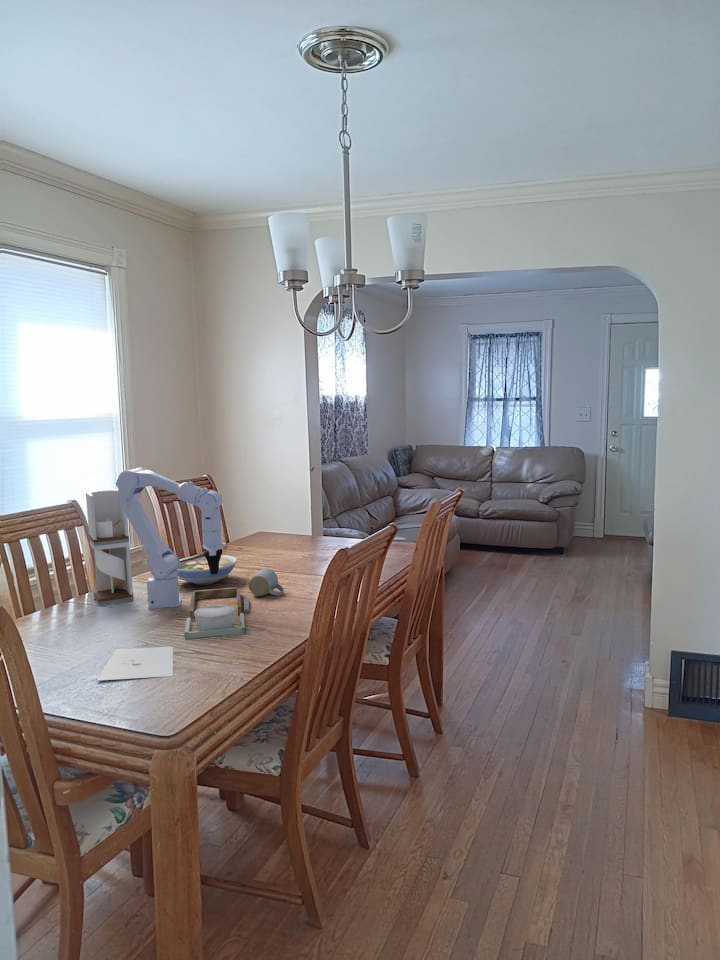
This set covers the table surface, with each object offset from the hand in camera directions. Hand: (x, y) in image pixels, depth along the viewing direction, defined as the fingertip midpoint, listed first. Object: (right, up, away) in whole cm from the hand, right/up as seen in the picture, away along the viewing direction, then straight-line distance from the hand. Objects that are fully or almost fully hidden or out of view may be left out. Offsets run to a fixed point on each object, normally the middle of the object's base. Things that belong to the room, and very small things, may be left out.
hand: (214, 573), depth 223 cm
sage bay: (+5, -12, -21) cm, 25 cm away
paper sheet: (-3, -16, -46) cm, 49 cm away
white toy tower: (-35, -10, +12) cm, 38 cm away
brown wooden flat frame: (+1, -10, 0) cm, 10 cm away
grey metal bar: (+10, -10, -2) cm, 15 cm away
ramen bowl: (-9, -7, +29) cm, 31 cm away
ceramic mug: (+15, -8, +12) cm, 21 cm away
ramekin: (+5, -13, -21) cm, 25 cm away
